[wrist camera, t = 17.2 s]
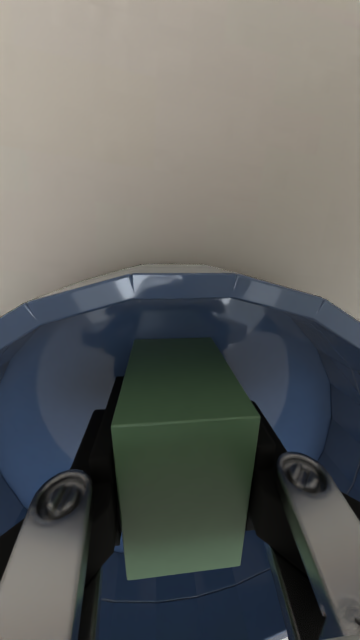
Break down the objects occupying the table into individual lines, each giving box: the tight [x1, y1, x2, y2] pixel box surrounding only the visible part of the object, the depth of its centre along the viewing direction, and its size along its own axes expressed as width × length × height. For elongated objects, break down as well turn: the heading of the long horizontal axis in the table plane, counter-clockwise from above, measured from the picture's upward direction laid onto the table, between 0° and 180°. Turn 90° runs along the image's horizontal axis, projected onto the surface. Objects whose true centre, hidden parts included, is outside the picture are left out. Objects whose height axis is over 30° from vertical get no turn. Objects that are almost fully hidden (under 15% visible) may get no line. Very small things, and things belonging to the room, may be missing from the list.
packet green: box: [111, 337, 260, 580], centre depth 8 cm, size 6×3×5 cm, turn 0°
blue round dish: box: [0, 263, 360, 640], centre depth 10 cm, size 18×18×4 cm
